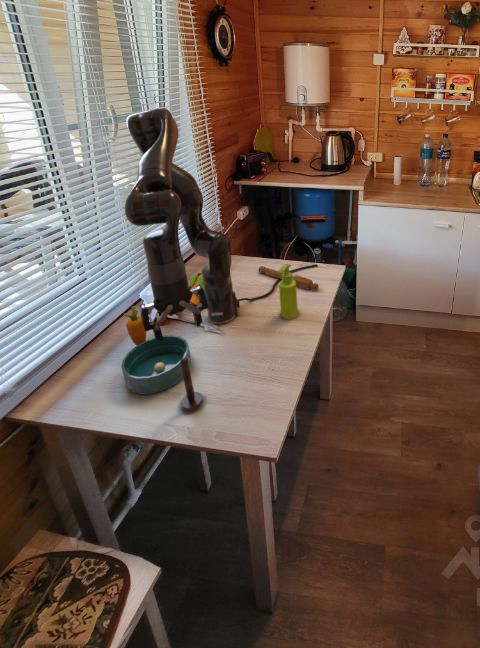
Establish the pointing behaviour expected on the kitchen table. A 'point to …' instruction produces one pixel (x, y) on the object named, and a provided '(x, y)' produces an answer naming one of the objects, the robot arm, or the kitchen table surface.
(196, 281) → the corn
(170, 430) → the kitchen table surface
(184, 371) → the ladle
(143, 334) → the carrot
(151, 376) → the bowl
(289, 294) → the soap dispenser
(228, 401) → the kitchen table surface
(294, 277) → the rolling pin
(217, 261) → the robot arm
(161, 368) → the bead
